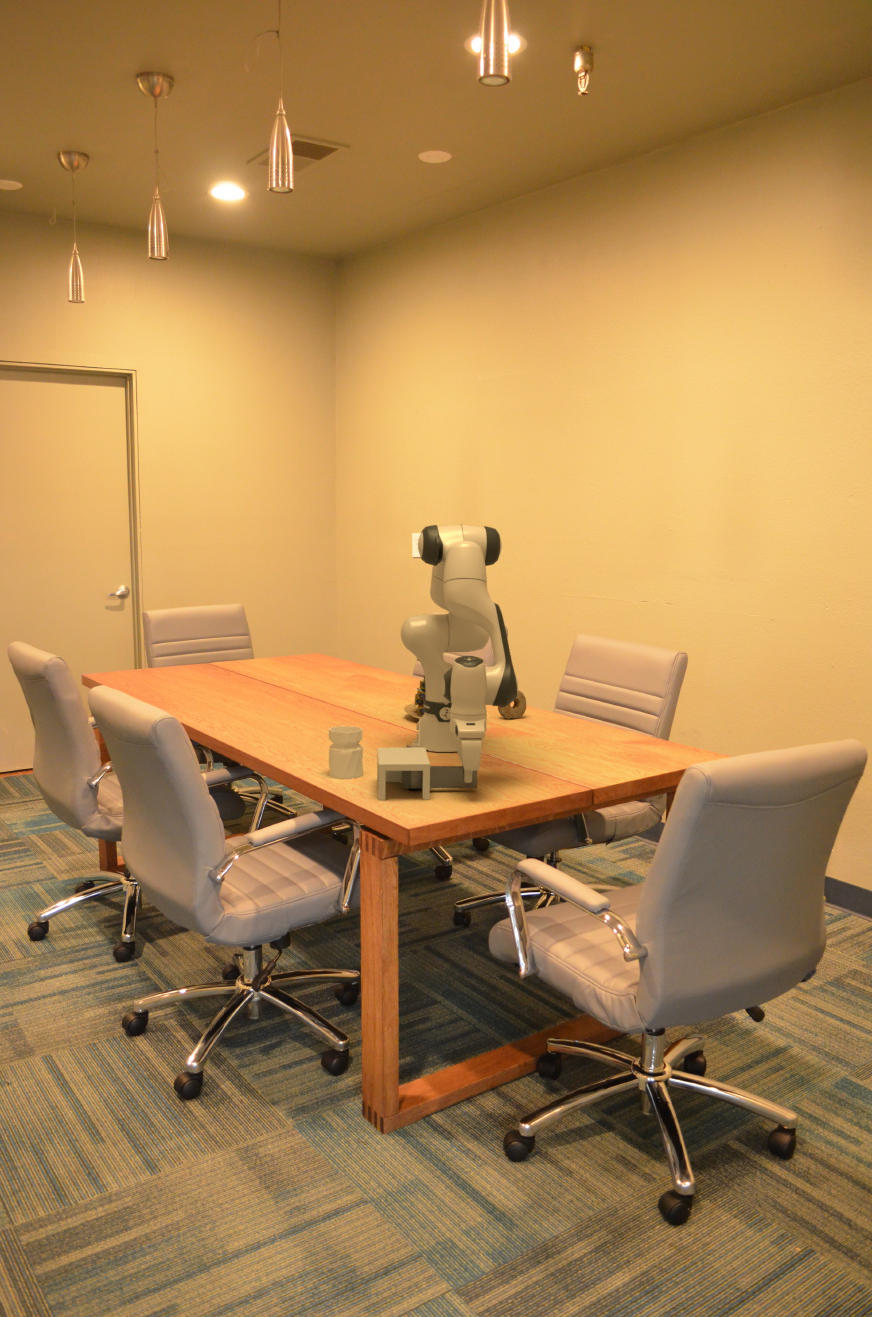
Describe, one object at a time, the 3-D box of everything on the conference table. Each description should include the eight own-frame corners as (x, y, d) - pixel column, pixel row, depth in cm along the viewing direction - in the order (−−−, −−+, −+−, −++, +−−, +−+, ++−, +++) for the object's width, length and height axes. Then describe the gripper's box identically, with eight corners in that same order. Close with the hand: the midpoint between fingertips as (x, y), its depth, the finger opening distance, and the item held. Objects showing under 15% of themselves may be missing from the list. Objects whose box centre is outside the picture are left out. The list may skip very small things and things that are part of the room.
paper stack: (491, 718, 336) (492, 669, 334) (447, 729, 316) (448, 677, 314) (434, 709, 351) (434, 663, 348) (389, 719, 331) (389, 670, 329)
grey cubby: (377, 780, 249) (377, 747, 248) (424, 780, 250) (425, 747, 249) (378, 800, 231) (378, 764, 230) (429, 799, 232) (430, 764, 231)
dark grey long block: (401, 781, 244) (401, 761, 243) (473, 781, 246) (473, 761, 245) (402, 788, 238) (403, 768, 237) (476, 788, 239) (477, 768, 239)
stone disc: (501, 720, 331) (502, 691, 330) (496, 718, 334) (496, 689, 333) (528, 718, 335) (528, 689, 334) (522, 716, 339) (523, 688, 338)
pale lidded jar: (366, 777, 252) (366, 731, 250) (333, 780, 249) (333, 733, 247) (357, 770, 260) (357, 725, 259) (325, 772, 257) (325, 727, 256)
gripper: (451, 716, 248) (450, 769, 250) (458, 732, 228) (457, 791, 230) (476, 716, 249) (475, 769, 250) (486, 732, 228) (484, 790, 230)
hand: (467, 780), depth 240 cm, fingers closed on dark grey long block, 2 cm apart
